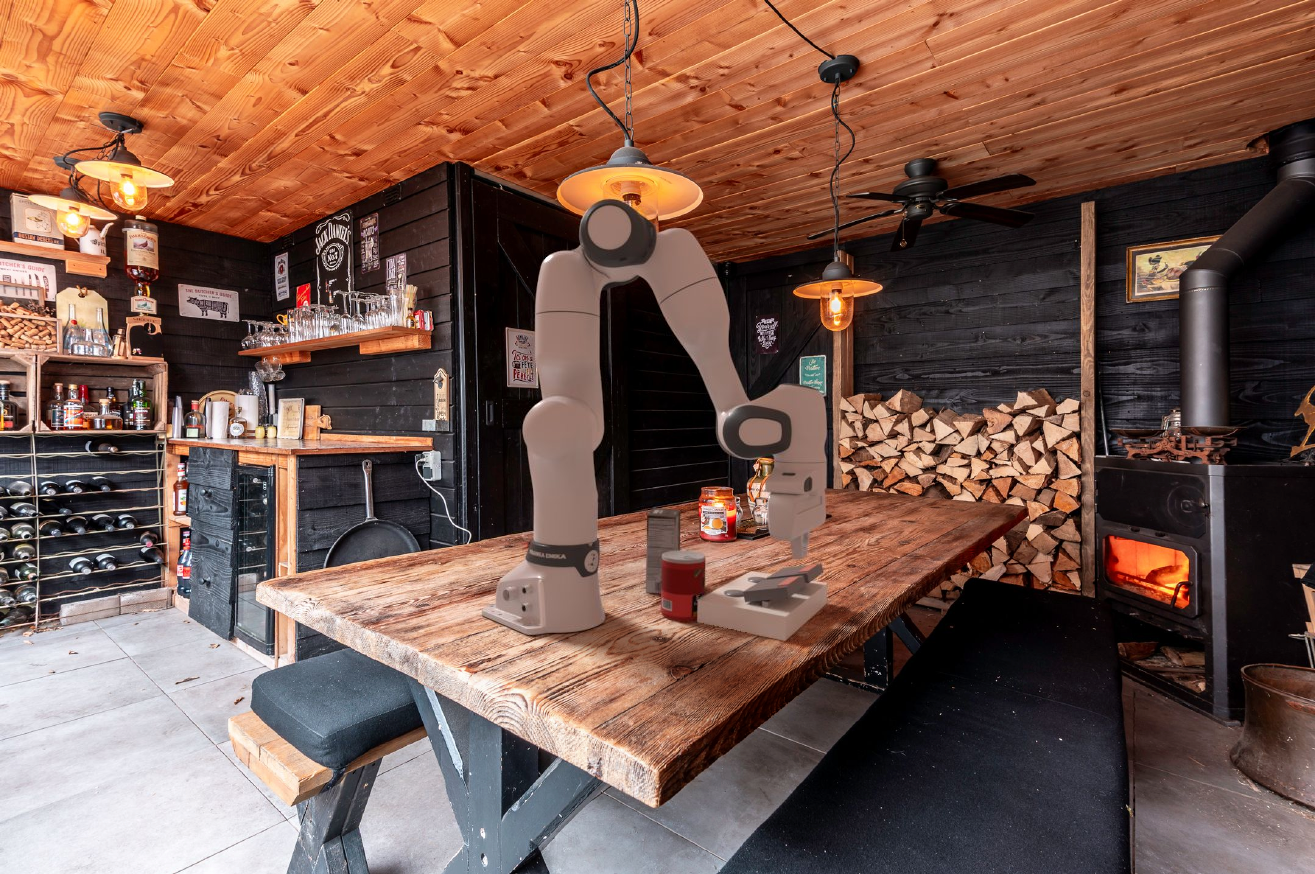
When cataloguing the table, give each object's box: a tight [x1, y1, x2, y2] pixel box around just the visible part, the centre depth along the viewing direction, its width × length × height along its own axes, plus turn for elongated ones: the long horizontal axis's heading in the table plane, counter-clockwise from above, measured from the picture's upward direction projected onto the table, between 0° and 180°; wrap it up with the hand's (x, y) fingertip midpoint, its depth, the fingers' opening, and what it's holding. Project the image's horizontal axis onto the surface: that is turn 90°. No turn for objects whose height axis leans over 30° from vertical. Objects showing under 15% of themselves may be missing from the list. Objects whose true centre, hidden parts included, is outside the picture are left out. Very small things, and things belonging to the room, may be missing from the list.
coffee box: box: [645, 507, 682, 595], centre depth 127 cm, size 9×6×16 cm
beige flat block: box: [696, 570, 828, 642], centre depth 112 cm, size 16×24×5 cm, turn 149°
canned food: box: [660, 550, 707, 622], centre depth 110 cm, size 8×8×11 cm
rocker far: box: [766, 562, 824, 583], centre depth 116 cm, size 8×9×2 cm
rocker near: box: [743, 576, 806, 602], centre depth 106 cm, size 8×9×2 cm
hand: (799, 557), depth 105 cm, fingers closed
